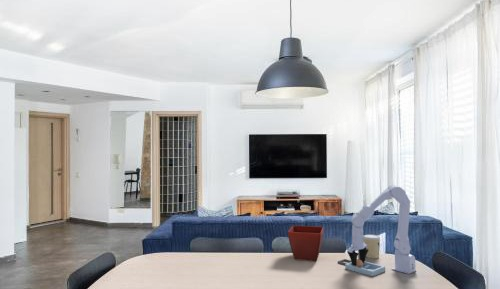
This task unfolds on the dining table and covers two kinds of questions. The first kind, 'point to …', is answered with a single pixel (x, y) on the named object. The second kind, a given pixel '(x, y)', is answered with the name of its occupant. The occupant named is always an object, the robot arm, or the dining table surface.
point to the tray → (366, 268)
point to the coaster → (343, 261)
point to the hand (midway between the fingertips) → (358, 263)
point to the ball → (359, 263)
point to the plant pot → (305, 242)
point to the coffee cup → (372, 245)
